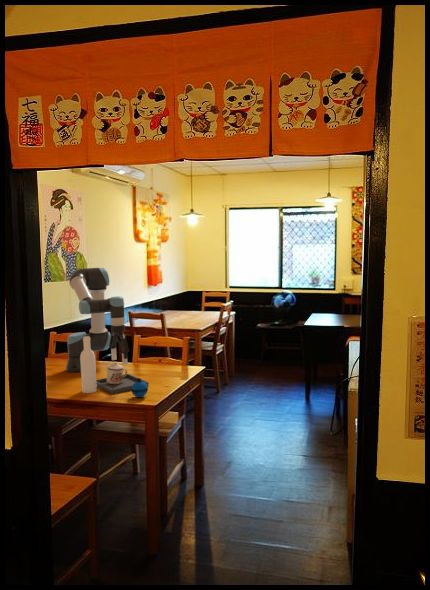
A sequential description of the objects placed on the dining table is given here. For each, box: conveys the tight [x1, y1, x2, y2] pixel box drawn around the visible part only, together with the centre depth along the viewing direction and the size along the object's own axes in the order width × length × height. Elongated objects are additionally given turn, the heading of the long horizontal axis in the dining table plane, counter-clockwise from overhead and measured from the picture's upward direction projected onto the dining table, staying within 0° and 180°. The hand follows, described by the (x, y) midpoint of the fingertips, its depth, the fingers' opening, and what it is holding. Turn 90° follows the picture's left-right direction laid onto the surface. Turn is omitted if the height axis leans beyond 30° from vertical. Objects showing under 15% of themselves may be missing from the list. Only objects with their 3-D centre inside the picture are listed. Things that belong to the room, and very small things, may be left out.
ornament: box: [130, 377, 149, 398], centre depth 259 cm, size 9×9×10 cm
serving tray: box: [96, 373, 149, 395], centre depth 281 cm, size 24×22×2 cm
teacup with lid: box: [106, 361, 128, 384], centre depth 284 cm, size 12×9×12 cm
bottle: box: [80, 336, 98, 394], centre depth 270 cm, size 8×8×30 cm
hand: (119, 362), depth 280 cm, fingers open, 13 cm apart
